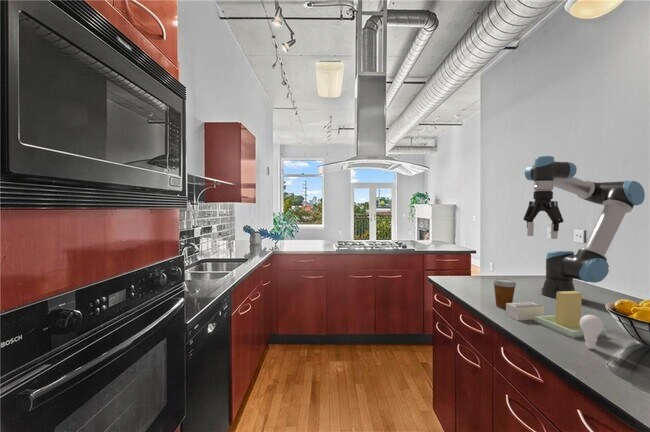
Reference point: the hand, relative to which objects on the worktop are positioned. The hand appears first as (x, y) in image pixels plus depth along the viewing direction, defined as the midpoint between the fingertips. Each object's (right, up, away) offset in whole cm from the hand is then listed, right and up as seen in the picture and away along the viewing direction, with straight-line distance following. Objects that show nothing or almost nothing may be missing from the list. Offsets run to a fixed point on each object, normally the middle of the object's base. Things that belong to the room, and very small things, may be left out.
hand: (541, 237), depth 160 cm
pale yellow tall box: (-8, -32, -29) cm, 44 cm away
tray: (-8, -33, -29) cm, 44 cm away
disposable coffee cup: (-17, -32, 0) cm, 36 cm away
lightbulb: (-13, -33, -47) cm, 59 cm away
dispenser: (-17, -32, -15) cm, 39 cm away
